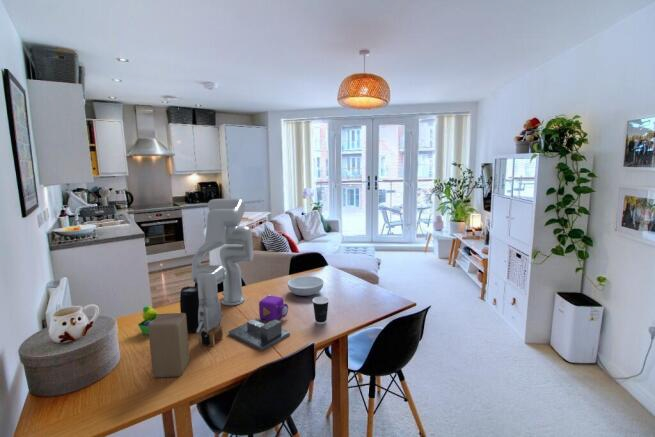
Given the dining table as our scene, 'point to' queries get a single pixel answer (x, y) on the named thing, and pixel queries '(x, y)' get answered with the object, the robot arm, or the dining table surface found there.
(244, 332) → the plate
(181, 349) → the wooden block
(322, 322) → the dixie cup
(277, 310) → the toy camera
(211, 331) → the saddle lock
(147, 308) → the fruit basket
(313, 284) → the serving bowl
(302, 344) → the dining table surface
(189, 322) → the portable speaker
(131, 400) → the dining table surface
